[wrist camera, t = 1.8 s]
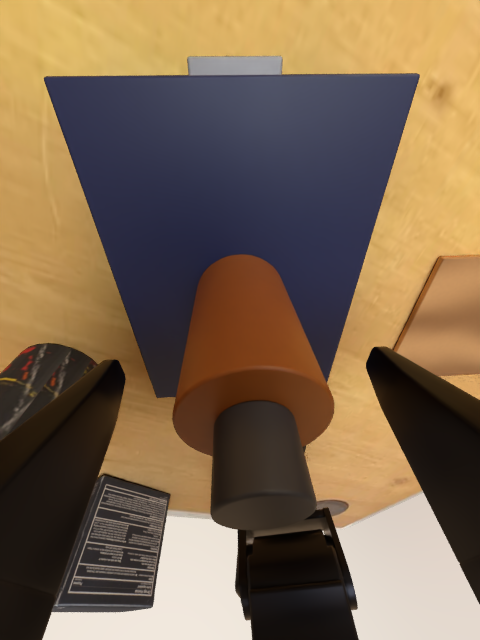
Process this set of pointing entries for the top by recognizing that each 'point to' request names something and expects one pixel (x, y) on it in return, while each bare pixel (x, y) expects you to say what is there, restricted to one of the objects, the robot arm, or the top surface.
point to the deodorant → (37, 381)
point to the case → (232, 185)
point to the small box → (115, 550)
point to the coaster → (446, 320)
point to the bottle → (251, 395)
